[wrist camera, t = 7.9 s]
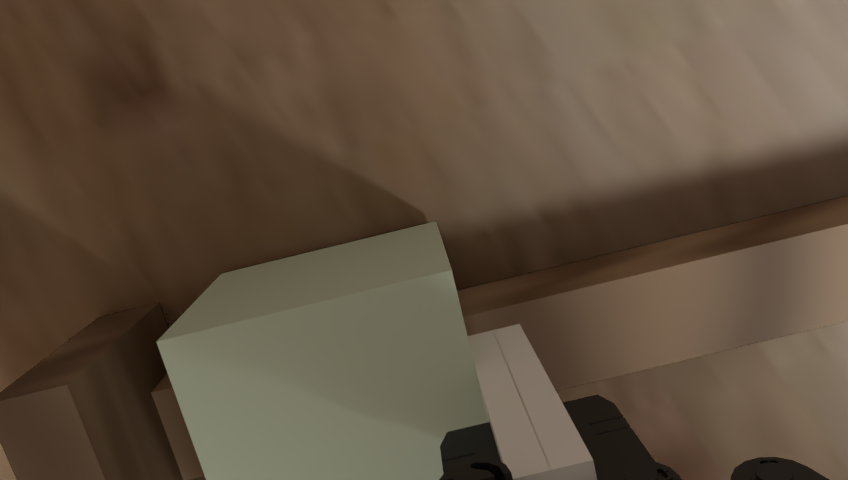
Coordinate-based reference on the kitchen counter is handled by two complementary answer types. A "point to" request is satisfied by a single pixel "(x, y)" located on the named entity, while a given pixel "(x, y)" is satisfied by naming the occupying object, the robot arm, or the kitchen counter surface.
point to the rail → (482, 311)
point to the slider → (327, 364)
